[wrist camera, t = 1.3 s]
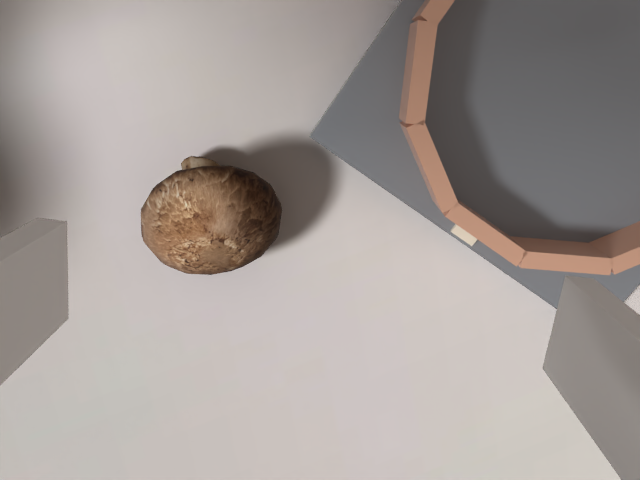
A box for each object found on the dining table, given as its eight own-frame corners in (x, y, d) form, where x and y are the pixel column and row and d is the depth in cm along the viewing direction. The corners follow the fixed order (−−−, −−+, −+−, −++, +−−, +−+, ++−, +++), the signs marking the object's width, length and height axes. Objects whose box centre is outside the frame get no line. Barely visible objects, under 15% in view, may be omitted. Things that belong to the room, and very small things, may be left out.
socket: (310, 134, 35) (307, 143, 31) (554, -225, 30) (590, -270, 26) (585, 326, 38) (615, 357, 34) (848, 35, 33) (921, 31, 29)
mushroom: (146, 116, 32) (153, 199, 28) (284, 131, 35) (307, 208, 31) (131, 215, 37) (135, 295, 33) (252, 221, 40) (268, 295, 37)
